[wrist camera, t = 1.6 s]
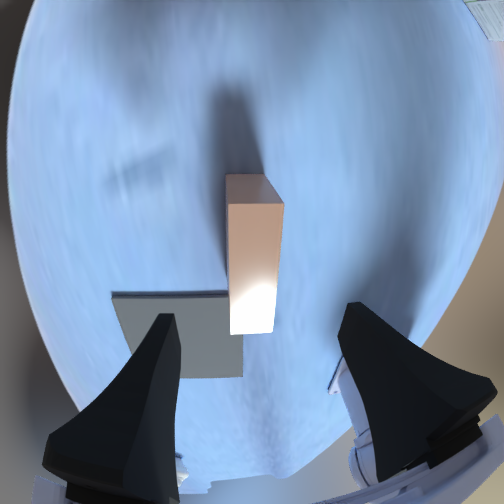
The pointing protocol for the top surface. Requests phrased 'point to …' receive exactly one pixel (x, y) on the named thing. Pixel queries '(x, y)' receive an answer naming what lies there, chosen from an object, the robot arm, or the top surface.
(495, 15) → the syrup box
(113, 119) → the top surface
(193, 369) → the mat
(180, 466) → the muffin
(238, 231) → the block
